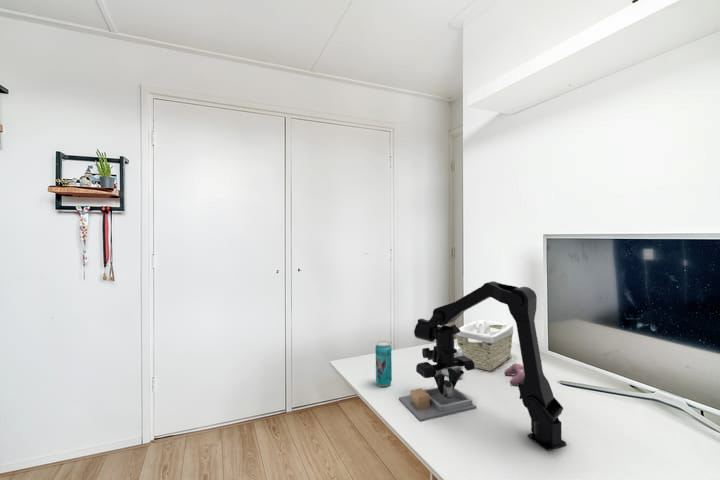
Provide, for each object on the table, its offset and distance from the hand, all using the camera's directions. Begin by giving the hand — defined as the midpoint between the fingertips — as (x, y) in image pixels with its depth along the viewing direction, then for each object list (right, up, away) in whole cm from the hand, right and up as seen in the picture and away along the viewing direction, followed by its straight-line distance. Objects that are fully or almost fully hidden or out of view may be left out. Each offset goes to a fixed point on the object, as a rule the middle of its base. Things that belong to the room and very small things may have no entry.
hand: (445, 392), depth 108 cm
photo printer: (+7, -3, +21) cm, 22 cm away
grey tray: (-3, -3, -1) cm, 5 cm away
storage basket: (+26, -2, +35) cm, 43 cm away
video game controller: (+30, -3, +15) cm, 33 cm away
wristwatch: (0, -1, 0) cm, 1 cm away
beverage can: (-19, -3, +13) cm, 24 cm away
